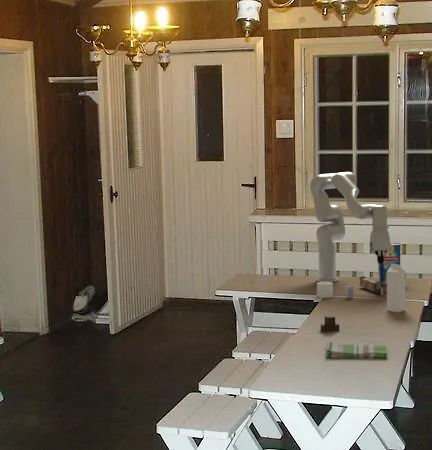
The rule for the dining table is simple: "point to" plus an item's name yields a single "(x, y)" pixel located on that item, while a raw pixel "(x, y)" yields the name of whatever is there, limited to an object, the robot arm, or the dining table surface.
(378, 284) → the pivot post
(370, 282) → the brown bar
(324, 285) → the toilet paper
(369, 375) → the dining table surface
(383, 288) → the fence panel
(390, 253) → the blue food box
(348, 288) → the latch post
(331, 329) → the stack of crates
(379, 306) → the dining table surface
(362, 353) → the dish towel
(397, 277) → the milk
